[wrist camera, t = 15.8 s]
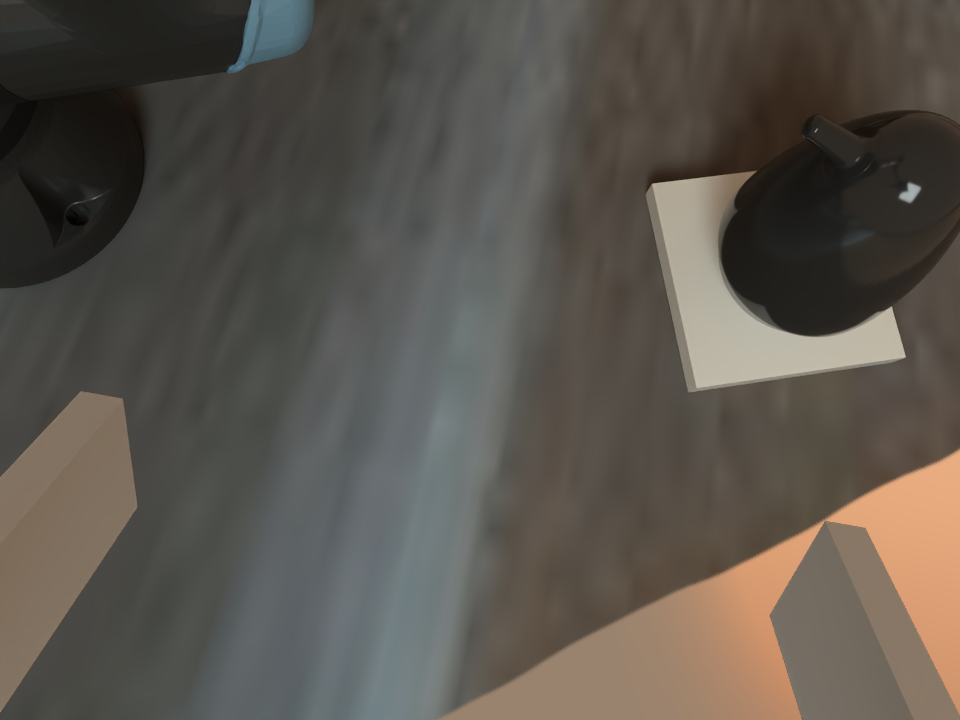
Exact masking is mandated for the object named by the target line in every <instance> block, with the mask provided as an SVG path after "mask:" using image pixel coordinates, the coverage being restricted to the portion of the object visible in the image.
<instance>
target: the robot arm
mask: <svg viewBox="0 0 960 720" xmlns="http://www.w3.org/2000/svg"><path fill="white" fill-rule="evenodd" d="M314 12H315V2H314V0H0V288H15V287H23V286H29V285H34V284H38V283H42V282H45V281H49V280H51V279H54V278H57V277H59V276H62V275H64V274H66V273H68V272H70V271H72V270H74V269H76V268H77V267H79V266H81V265H82V264H84V263H85V262H87V261H88V260H90V259H91V258H92V257H94V256H95V255H96V254H97V253H99V252H100V251H101V250H102V249H103V248H104V247H105V246H106V245H107V244H108V243H109V242H110V241H111V240H112V239H113V238H114V237H115V235H116V234H117V233H118V232H119V230H120V229H121V228H122V226H123V225H124V223H125V222H126V220H127V218H128V217H129V215H130V213H131V211H132V209H133V207H134V204H135V202H136V199H137V197H138V193H139V190H140V186H141V182H142V175H143V150H142V144H141V139H140V136H139V132H138V129H137V127H136V124H135V122H134V120H133V118H132V116H131V114H130V113H129V111H128V109H127V108H126V107H125V105H124V104H123V103H122V101H121V100H120V99H119V97H118V96H117V95H116V94H115V92H114V91H113V90H112V89H113V88H120V87H127V86H134V85H140V84H147V83H154V82H160V81H167V80H174V79H181V78H187V77H194V76H201V75H208V74H214V73H221V72H226V73H235V72H238V71H240V70H242V69H243V68H244V67H245V66H246V65H250V64H254V63H259V62H263V61H267V60H272V59H276V58H281V57H285V56H289V55H291V54H294V53H295V52H297V51H298V50H300V49H301V48H302V47H303V45H304V44H305V43H306V42H307V40H308V38H309V36H310V34H311V32H312V28H313V24H314ZM136 508H137V500H136V493H135V486H134V478H133V471H132V463H131V456H130V448H129V441H128V434H127V426H126V419H125V411H124V404H123V399H122V398H116V397H111V396H105V395H99V394H93V393H88V392H82V391H81V392H80V393H79V394H78V395H77V396H76V397H75V398H74V399H73V400H72V401H71V402H70V403H69V405H68V406H67V407H66V408H65V409H64V410H63V411H62V412H61V413H60V414H59V415H58V416H57V417H56V418H55V419H54V421H53V422H52V423H51V424H50V425H49V426H48V427H47V428H46V429H45V430H44V431H43V432H42V433H41V434H40V435H39V437H38V438H37V439H36V440H35V441H34V442H33V443H32V444H31V445H30V446H29V447H28V448H27V449H26V450H25V452H24V453H23V454H22V455H21V456H20V457H19V458H18V459H17V460H16V461H15V462H14V463H13V464H12V465H11V466H10V468H9V469H8V470H7V471H6V472H5V473H4V474H3V475H2V476H1V477H0V712H1V711H2V709H3V708H4V706H5V705H6V703H7V702H8V700H9V699H10V697H11V696H12V694H13V693H14V691H15V690H16V688H17V687H18V685H19V684H20V682H21V681H22V679H23V678H24V676H25V675H26V673H27V672H28V670H29V669H30V667H31V666H32V664H33V663H34V661H35V660H36V658H37V657H38V655H39V654H40V652H41V651H42V649H43V648H44V646H45V645H46V643H47V642H48V640H49V639H50V637H51V636H52V634H53V633H54V631H55V630H56V628H57V627H58V625H59V624H60V622H61V621H62V619H63V618H64V616H65V615H66V613H67V612H68V610H69V609H70V607H71V606H72V604H73V603H74V601H75V600H76V598H77V597H78V595H79V594H80V592H81V591H82V589H83V588H84V586H85V585H86V583H87V582H88V580H89V579H90V577H91V576H92V574H93V573H94V571H95V570H96V568H97V567H98V565H99V564H100V562H101V561H102V559H103V558H104V556H105V555H106V553H107V552H108V550H109V549H110V547H111V546H112V544H113V543H114V541H115V540H116V538H117V537H118V535H119V534H120V532H121V531H122V529H123V528H124V526H125V525H126V523H127V522H128V520H129V519H130V517H131V516H132V514H133V513H134V511H135V510H136ZM770 618H771V621H772V624H773V627H774V631H775V634H776V637H777V640H778V644H779V647H780V650H781V653H782V656H783V659H784V663H785V666H786V669H787V673H788V676H789V679H790V682H791V685H792V689H793V692H794V695H795V698H796V702H797V705H798V708H799V711H800V714H801V718H802V720H960V715H959V713H958V711H957V709H956V707H955V705H954V703H953V701H952V699H951V697H950V695H949V693H948V691H947V689H946V688H945V685H944V683H943V681H942V679H941V677H940V675H939V673H938V672H937V669H936V667H935V666H934V664H933V661H932V659H931V658H930V656H929V654H928V652H927V650H926V648H925V646H924V644H923V642H922V640H921V638H920V636H919V634H918V632H917V630H916V628H915V626H914V624H913V622H912V620H911V618H910V616H909V614H908V612H907V610H906V608H905V606H904V604H903V602H902V600H901V598H900V596H899V594H898V592H897V590H896V588H895V586H894V584H893V582H892V580H891V578H890V576H889V574H888V572H887V570H886V568H885V566H884V564H883V562H882V560H881V558H880V556H879V554H878V553H877V550H876V548H875V546H874V544H873V542H872V541H871V538H870V536H869V535H868V532H867V531H866V529H865V528H863V527H857V526H851V525H845V524H840V523H834V522H828V521H825V522H824V524H823V525H822V527H821V529H820V531H819V532H818V534H817V536H816V538H815V539H814V541H813V542H812V544H811V546H810V548H809V549H808V551H807V553H806V554H805V556H804V558H803V560H802V561H801V563H800V565H799V566H798V568H797V570H796V571H795V573H794V575H793V576H792V578H791V580H790V582H789V583H788V585H787V587H786V588H785V590H784V592H783V594H782V595H781V597H780V599H779V600H778V602H777V604H776V605H775V607H774V609H773V611H772V612H771V614H770Z"/></svg>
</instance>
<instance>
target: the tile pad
mask: <svg viewBox="0 0 960 720" xmlns="http://www.w3.org/2000/svg"><path fill="white" fill-rule="evenodd" d="M755 172H757V171H752V172H744V173H735V174H727V175H719V176H711V177H703V178H695V179H686V180H678V181H670V182H662V183H654V184H652V185H651V186H650V188H649V189H648V191H647V193H646V199H647V203H648V208H649V213H650V217H651V222H652V227H653V231H654V236H655V241H656V245H657V250H658V254H659V259H660V264H661V268H662V273H663V278H664V282H665V287H666V292H667V296H668V301H669V306H670V310H671V315H672V320H673V324H674V329H675V333H676V338H677V343H678V347H679V352H680V357H681V361H682V366H683V371H684V375H685V380H686V385H687V389H688V392H695V391H701V390H708V389H715V388H722V387H729V386H735V385H742V384H749V383H756V382H763V381H769V380H776V379H783V378H790V377H796V376H803V375H810V374H817V373H824V372H830V371H837V370H844V369H851V368H858V367H864V366H871V365H878V364H885V363H891V362H894V361H897V360H900V359H903V358H906V356H905V353H904V349H903V346H902V342H901V339H900V335H899V331H898V328H897V324H896V321H895V317H894V314H893V310H892V306H891V307H890V308H889V309H887V310H886V311H885V312H883V313H882V314H880V315H879V316H877V317H876V318H874V319H873V320H871V321H869V322H868V323H866V324H864V325H862V326H860V327H858V328H856V329H853V330H851V331H848V332H846V333H843V334H839V335H835V336H829V337H805V336H799V335H794V334H791V333H787V332H783V331H780V330H776V329H774V328H771V327H768V326H766V325H764V324H762V323H760V322H759V321H757V320H755V319H754V318H752V317H751V316H750V315H748V314H747V313H746V312H745V311H744V310H743V309H742V308H741V307H740V306H739V305H738V304H737V303H736V301H735V300H734V299H733V297H732V296H731V294H730V293H729V291H728V289H727V287H726V285H725V283H724V281H723V278H722V275H721V271H720V266H719V258H718V232H719V226H720V222H721V218H722V215H723V213H724V210H725V208H726V206H727V204H728V202H729V201H730V199H731V198H732V196H733V195H734V194H735V192H736V191H737V190H738V189H739V188H740V187H741V185H742V184H743V183H744V182H745V181H746V180H747V179H748V178H750V177H751V176H752V175H753V174H754V173H755Z"/></svg>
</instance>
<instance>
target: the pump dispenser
mask: <svg viewBox="0 0 960 720" xmlns="http://www.w3.org/2000/svg"><path fill="white" fill-rule="evenodd" d="M801 132H802V136H803V137H804V138H805V139H806V140H804V141H802V142H800V143H799V144H797V145H795V146H793V147H791V148H790V149H788V150H786V151H785V152H783V153H782V154H780V155H779V156H777V157H776V158H774V159H773V160H771V161H770V162H769V163H767V164H766V165H764V166H763V167H762V168H760V169H759V170H758V171H757V172H755V173H754V174H753V175H752V176H751V177H750V178H748V179H747V180H746V181H745V182H744V183H743V184H742V185H741V187H740V188H739V189H738V190H737V191H736V192H735V194H734V195H733V196H732V198H731V199H730V201H729V202H728V204H727V206H726V208H725V210H724V213H723V215H722V218H721V222H720V226H719V232H718V258H719V266H720V271H721V275H722V278H723V281H724V283H725V285H726V287H727V289H728V291H729V293H730V294H731V296H732V297H733V299H734V300H735V301H736V303H737V304H738V305H739V306H740V307H741V308H742V309H743V310H744V311H745V312H746V313H747V314H748V315H750V316H751V317H752V318H754V319H755V320H757V321H759V322H760V323H762V324H764V325H766V326H768V327H771V328H774V329H776V330H780V331H783V332H787V333H791V334H794V335H799V336H805V337H829V336H835V335H839V334H843V333H846V332H848V331H851V330H853V329H856V328H858V327H860V326H862V325H864V324H866V323H868V322H869V321H871V320H873V319H874V318H876V317H877V316H879V315H880V314H882V313H883V312H885V311H886V310H887V309H889V308H890V307H891V306H893V305H894V304H895V303H896V302H898V301H899V300H900V299H901V298H903V297H904V296H905V295H906V294H908V293H909V292H910V291H911V290H912V289H913V288H914V287H915V286H916V285H918V284H919V283H920V282H921V281H922V280H923V279H924V278H925V276H926V275H927V274H928V273H929V272H930V271H931V270H932V269H933V268H934V267H935V265H936V264H937V263H938V262H939V261H940V259H941V258H942V257H943V255H944V254H945V253H946V251H947V250H948V249H949V247H950V246H951V244H952V243H953V241H954V240H955V238H956V237H957V235H958V233H959V232H960V125H959V124H958V123H956V122H955V121H953V120H951V119H950V118H948V117H945V116H943V115H940V114H937V113H933V112H929V111H921V110H897V111H888V112H882V113H877V114H873V115H869V116H865V117H861V118H858V119H855V120H852V121H849V122H846V123H843V124H841V125H838V124H836V123H835V122H833V121H831V120H829V119H827V118H825V117H824V116H822V115H819V114H816V115H813V116H811V117H809V118H808V119H807V120H806V121H805V123H804V124H803V126H802V131H801Z"/></svg>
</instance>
